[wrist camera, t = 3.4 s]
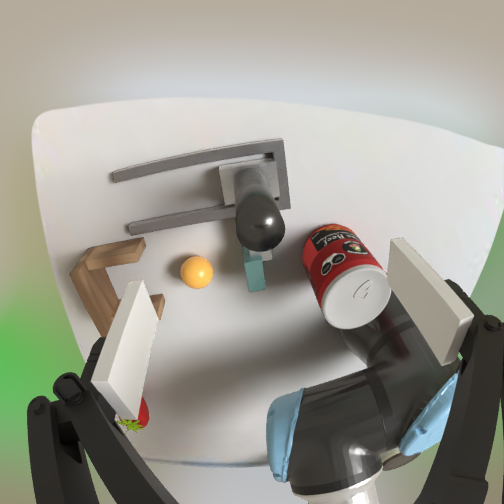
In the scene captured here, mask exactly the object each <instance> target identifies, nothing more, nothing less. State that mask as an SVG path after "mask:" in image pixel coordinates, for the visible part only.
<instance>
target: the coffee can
mask: <svg viewBox="0 0 504 504" xmlns="http://www.w3.org/2000/svg"><path fill="white" fill-rule="evenodd" d="M398 448H399V447H397V448H395V449H392V450H390V451H387V452H385V453H383V454H381V455H380V457H381V461H382V465H383V469H382V470H383V471H387V470H392V469H395V468H398V467H401V466H403V465H405V464H407V463H409V462H411V461H412V460H414V459H415V458H416V457H418V456H419V455H420V453H421V452H420V453H415V454H413V455H410V456H405V455H403V454H402V453H401V452H399V449H398Z"/></svg>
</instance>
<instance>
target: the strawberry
mask: <svg viewBox="0 0 504 504" xmlns="http://www.w3.org/2000/svg"><path fill="white" fill-rule="evenodd" d="M118 417H119V415H118ZM119 418H120V417H119ZM120 420H121V422H118V421H116V422H117V423H119V424H121V425H126V426H127V430H128V429H132V430H134V431H135V432H137V430H136V429H141V430H143V429H142V428H143V427H145V426H146V425H147V423H148V421H149V412H148V407H147V405H146V402H145V400H144V398H143V397H142V398H141V403H140V409H139V414H138V420H124V419H121V418H120Z"/></svg>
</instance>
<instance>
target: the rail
mask: <svg viewBox="0 0 504 504" xmlns="http://www.w3.org/2000/svg"><path fill="white" fill-rule="evenodd" d="M270 152H272V154H273V158H274V159H275V161H276V167H277V175H278V183H279V192H280V197H275V198H274V200H275V202H276V204H277V207H278V209H279V210H284V209H291V206H290V196H289V187H288V177H287V168H286V160H285V151H284V143H283V139H281V138H280V139H272V140H265V141H258V142H251V143H244V144H238V145H231V146H225V147H220V148H214V149H209V150H203V151H198V152H193V153H188V154H183V155H178V156H174V157H169V158H164V159H160V160H156V161H151V162H147V163H143V164H139V165H135V166H131V167H127V168H123V169H120V170H116V171H115V172H113V177H114V180H115V183H116V182H120V181H124V180H128V179H132V178H136V177H141V176H145V175H149V174H154V173H158V172H162V171H167V170H172V169H176V168H181V167H186V166H191V165H196V164H202V163H207V162H213V161H218V160H224V159H230V158H236V157H242V156H249V155H255V154H262V153H270ZM233 217H236V214H235V204H230V205H223V206H217V207H211V208H206V209H200V210H194V211H189V212H183V213H178V214H173V215H168V216H162V217H157V218H152V219H147V220H142V221H137V222H133V223H131V224H130V225H129V226H128V228H129V231H130V234H131V236H132V235H137V234H143V233H148V232H153V231H158V230H164V229H169V228H175V227H180V226H186V225H192V224H197V223H203V222H209V221H215V220H221V219H227V218H233Z"/></svg>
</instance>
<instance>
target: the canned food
mask: <svg viewBox="0 0 504 504" xmlns="http://www.w3.org/2000/svg"><path fill="white" fill-rule="evenodd" d="M302 260H303V265H304V268H305V270H306V273H307V275H308V278H309V280H310V283H311V285H312V288H313V290H314V293H315V296H316V298H317V301H318V303H319V306H320V308H321V311H322V313H323V315H324V317H325V319H326V320H327V321H328V323H329V324H331V325H332V326H334V327H336V328H340V329H352V328H357V327H360V326H363V325H365V324H367V323H369V322H370V321H372V320H373V319H374V318H376V317H377V316H378V315H379V314H380V313H381V312H382V310H383V309H384V308H385V306H386V305H387V303H388V301H389V298H390V295H391V288H390V286H389V285H388V284H387V282H386V280H387V274H386V272H385V271H384V270H383V268H382V267H381V266H380V264H379V263H378V262H377V261H376V259H375V258H374V257H373V255H372V254H371V253H370V252H369V250H368V249H367V248H366V247H365V246H364V244H363V243H362V242H361V241H360V239H359V238H358V237H357V236H356V235H355V233H354V232H353V231H352V230H350V229H349V228H347V227H345V226H342V225H337V224H331V225H326V226H323V227H321V228H319V229H317V230H316V231H315V232H313V233H312V234H311V235H310V236H309V238H308V239H307V241H306V243H305V245H304V249H303V255H302Z"/></svg>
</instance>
